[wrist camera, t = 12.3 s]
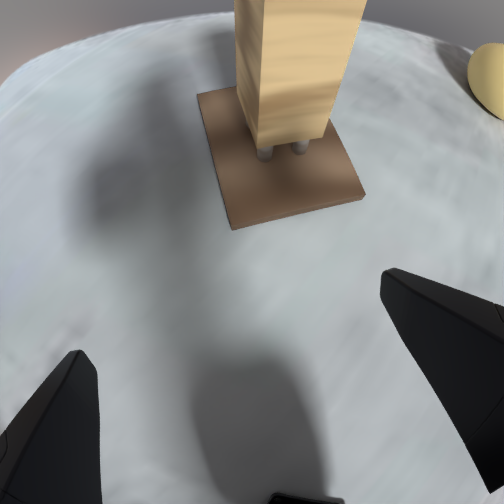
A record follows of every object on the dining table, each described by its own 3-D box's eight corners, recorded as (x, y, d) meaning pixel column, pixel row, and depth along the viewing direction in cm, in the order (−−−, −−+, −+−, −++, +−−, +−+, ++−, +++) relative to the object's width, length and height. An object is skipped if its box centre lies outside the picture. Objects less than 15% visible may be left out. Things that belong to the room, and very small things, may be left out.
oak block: (322, 137, 21) (367, -1, 10) (256, 149, 21) (264, -5, 9) (295, 84, 23) (316, -41, 11) (236, 92, 22) (233, -40, 11)
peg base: (361, 199, 24) (379, 176, 20) (231, 230, 23) (229, 208, 19) (304, 83, 28) (310, 55, 24) (198, 101, 27) (193, 71, 23)
